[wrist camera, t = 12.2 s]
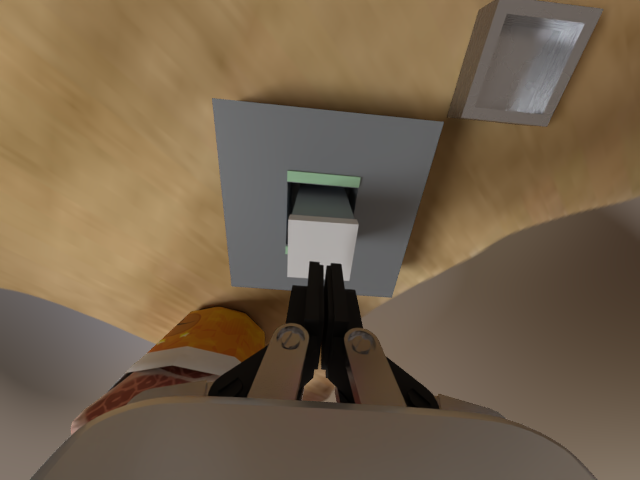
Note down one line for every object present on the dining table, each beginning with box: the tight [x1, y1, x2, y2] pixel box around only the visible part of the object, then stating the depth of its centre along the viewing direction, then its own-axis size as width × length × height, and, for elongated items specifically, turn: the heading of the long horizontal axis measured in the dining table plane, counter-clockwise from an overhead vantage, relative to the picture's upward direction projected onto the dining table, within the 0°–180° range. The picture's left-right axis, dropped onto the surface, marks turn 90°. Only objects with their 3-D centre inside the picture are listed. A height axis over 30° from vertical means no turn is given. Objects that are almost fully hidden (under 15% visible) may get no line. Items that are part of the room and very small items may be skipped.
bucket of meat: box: [71, 307, 265, 435], centre depth 25 cm, size 20×16×20 cm
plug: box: [287, 183, 359, 281], centre depth 19 cm, size 4×4×10 cm
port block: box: [212, 98, 444, 298], centre depth 22 cm, size 16×16×5 cm
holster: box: [447, 0, 603, 126], centre depth 18 cm, size 7×7×2 cm
